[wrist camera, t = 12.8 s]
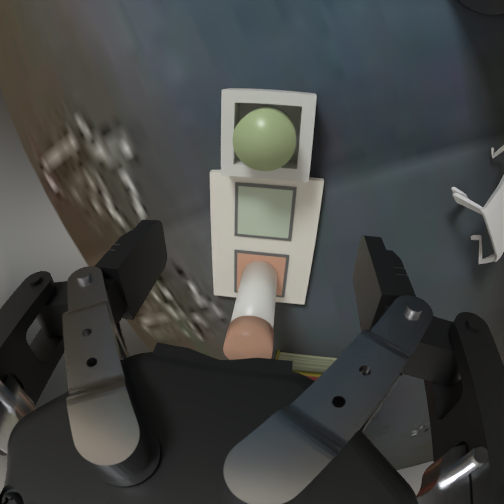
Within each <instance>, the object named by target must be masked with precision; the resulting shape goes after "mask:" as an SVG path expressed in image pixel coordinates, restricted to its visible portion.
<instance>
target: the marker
mask: <svg viewBox="0 0 504 504" xmlns="http://www.w3.org/2000/svg"><path fill="white" fill-rule="evenodd" d="M277 277H278V275H277V271H276V269H275V268H274V267H273V266H272V265H271V264H269V263H267V262H264V261H253V262H251V263H249V264H247V265H246V266H245V267H244V269H243V272H242V277H241V281H240V285H239V289H238V293H237V298H236V302H235V306H234V310H233V315H232V319H231V323H230V324H229V327H228V331H227V335H226V339H225V343H224V348H223V350H224V354H225V355H226V357H227V358H228V359H229V360H235V359H247V358H267V359H271V357H272V351H273V340H274V330H273V326H274V314H275V302H276V290H277Z"/></svg>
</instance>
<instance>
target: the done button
mask: <svg viewBox="0 0 504 504" xmlns="http://www.w3.org/2000/svg"><path fill="white" fill-rule="evenodd" d="M232 141H233V148H234V151H235V153H236V155H237V157H238V158H239V159H240V160H241V162H243V163H244V164H245V165H246V166H248V167H250V168H252V169H254V170H258V171H272V170H275V169H278V168H280V167H282V166H283V165H285V164H286V163H287V162H288V161H289V160H290V159H291V157H292V155H293V153H294V151H295V147H296V131H295V126H294V124H293V122H292V120H291V119H290V117H289V116H288V115H287V114H286V113H284V112H283V111H281V110H279V109H277V108H273V107H261V108H257V109H255V110H253V111H251V112H250V113H248V114H247V115H246V116H245V117H244V118H242V119H241V120H240V121H239V123H238V124H237V126H236V127H235V130H234V133H233V139H232Z"/></svg>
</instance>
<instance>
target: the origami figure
mask: <svg viewBox="0 0 504 504" xmlns="http://www.w3.org/2000/svg"><path fill="white" fill-rule="evenodd" d="M503 151H504V145H503V146H502V147H501V148H500V149H498V150H497V151H496V152H495V153H494V147H493V148H491V152H492V158H495V157H496V156H497V155H499V154H500V153H502V152H503ZM451 189H452V191H453V193H454V194H452V195H453V197H454V199H455V201H456V203H458V204H461V205H463V206H465V207H467V208H469V209H471V210H474V211H476V212H478V213H480V214H482V215H483V218H484V221H485V224H486V227H487V230H488V233H489V236H490V239H491V242H492V246H493V249H494V254H492V255H490V256H488V257H486V258H484V259H482V238H481V235H473V236H471V240H479V264H484V263H489V262H493V261H494V262H496V261H497V260H498V259H499V258H500V257H501V255H502V254H503V252H504V175H503V177H502V179H501V181H500V183H499V185H498V186H497V188H496V189H495V191H494V192H493V194H492V195H491V197H490V198H489V200H488V201H487V203H486V204H485V205H484V207H481V206H479V205H478V204H476V203H474V202H473V201H471V200H469V199H468V197H467V195H466V194H465V193H463V192H462V191H460V190H459V189H457V188H455V187H452V188H451Z"/></svg>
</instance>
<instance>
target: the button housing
mask: <svg viewBox="0 0 504 504" xmlns="http://www.w3.org/2000/svg"><path fill="white" fill-rule="evenodd" d="M316 98H317V95H316V94H314V93H306V92H295V91H283V90H268V89H244V88H228V89H223V90H222V102H221V176H238V177H252V178H265V179H277V180H288V181H298V182H309V173H310V164H311V154H312V144H313V133H314V122H315V110H316ZM261 107H273V108H277V109H279V110H281V111H283V112H284V113H286V114H287V115H288V116H289V117H290V119H291V120H292V122H293V124H294V126H295V131H296V147H295V151H294V153H293V155H292V157H291V159H290V160H289V161H288V162H287V163H286V164H285V165H283V166H282V167H280V168H278V169H275V170H272V171H258V170H254V169H252V168H250V167H248V166H246V165H245V164H244V163H243V162H241V160H240V159H239V158H238V157H237V155H236V153H235V151H234V148H233V141H232V139H233V133H234V130H235V127H236V126H237V124H238V123H239V121H240V120H241V119H242V118H244V117H245V116H246V115H247V114H248V113H250V112H251V111H253V110H255V109H257V108H261Z"/></svg>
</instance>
